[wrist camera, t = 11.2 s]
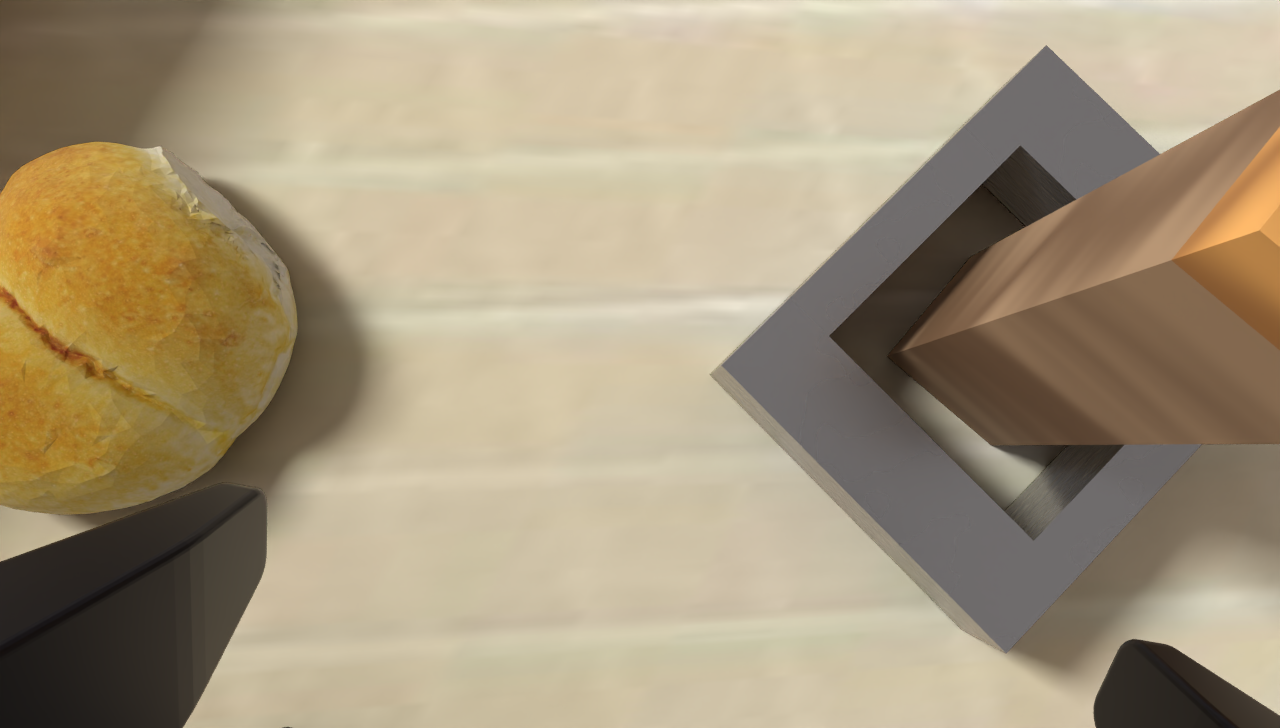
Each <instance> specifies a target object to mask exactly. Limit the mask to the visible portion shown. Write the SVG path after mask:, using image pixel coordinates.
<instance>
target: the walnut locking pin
mask: <svg viewBox="0 0 1280 728" xmlns="http://www.w3.org/2000/svg"><path fill="white" fill-rule="evenodd" d="M887 357H889V358H890V359H891V360H892V361H893V362H894V363H896V364H897V365H898V366H899V367H900V368H901V369H903V370H904V371H905V372H906V373H907V374H908V375H910V376H911V377H912V378H913V379H914V380H915V381H917V382H918V383H919V384H920V385H921V386H922V387H924V388H925V389H926V390H927V391H928V392H929V393H931V394H932V395H933V396H934V397H935V398H936V399H938V400H939V401H940V402H941V403H942V404H944V405H945V406H946V407H947V408H948V409H949V410H951V411H952V412H953V413H954V414H955V415H956V416H958V417H959V418H960V419H961V420H962V421H963V422H965V423H966V424H967V425H968V426H969V427H970V428H972V429H973V430H974V431H975V432H976V433H977V434H979V435H980V436H981V437H982V438H983V439H984V440H986V441H987V442H988V443H989V444H990V445H1151V444H1280V90H1279V91H1277V92H1275V93H1273V94H1271V95H1269V96H1267V97H1266V98H1264V99H1262V100H1260V101H1258V102H1256V103H1254V104H1253V105H1251V106H1249V107H1247V108H1245V109H1243V110H1242V111H1240V112H1238V113H1236V114H1234V115H1232V116H1230V117H1229V118H1227V119H1225V120H1223V121H1221V122H1219V123H1217V124H1216V125H1214V126H1212V127H1210V128H1208V129H1206V130H1204V131H1203V132H1201V133H1199V134H1197V135H1195V136H1193V137H1191V138H1190V139H1188V140H1186V141H1184V142H1182V143H1180V144H1179V145H1177V146H1175V147H1173V148H1171V149H1169V150H1167V151H1166V152H1164V153H1162V154H1160V155H1158V156H1156V157H1154V158H1153V159H1151V160H1149V161H1147V162H1145V163H1143V164H1141V165H1140V166H1138V167H1136V168H1134V169H1132V170H1130V171H1129V172H1127V173H1125V174H1123V175H1121V176H1119V177H1117V178H1116V179H1114V180H1112V181H1110V182H1108V183H1106V184H1104V185H1103V186H1101V187H1099V188H1097V189H1095V190H1093V191H1091V192H1090V193H1088V194H1086V195H1084V196H1082V197H1080V198H1079V199H1077V200H1075V201H1073V202H1071V203H1069V204H1067V205H1066V206H1064V207H1062V208H1060V209H1058V210H1056V211H1054V212H1053V213H1051V214H1049V215H1047V216H1045V217H1043V218H1041V219H1040V220H1038V221H1036V222H1034V223H1032V224H1030V225H1028V226H1027V227H1025V228H1023V229H1021V230H1019V231H1017V232H1016V233H1014V234H1012V235H1010V236H1008V237H1006V238H1004V239H1003V240H1001V241H999V242H997V243H995V244H993V245H991V246H990V247H988V248H986V249H984V250H982V251H980V252H978V253H977V254H975V255H973V256H971V257H970V258H969V260H968V261H967V262H966V263H965V264H964V265H963V267H962V268H961V269H960V270H959V271H958V273H957V274H956V275H955V276H954V277H953V279H952V280H951V281H950V282H949V283H948V284H947V286H946V287H945V288H944V289H943V290H942V292H941V293H940V294H939V295H938V296H937V298H936V299H935V300H934V301H933V302H932V303H931V305H930V306H929V307H928V308H927V309H926V311H925V312H924V313H923V314H922V315H921V317H920V318H919V319H918V320H917V321H916V322H915V324H914V325H913V326H912V327H911V328H910V330H909V331H908V332H907V333H906V334H905V335H904V337H903V338H902V339H901V340H900V341H899V343H898V344H897V345H896V346H895V347H894V349H893V350H892V351H891V352H890V353H889V354H888V356H887Z"/></svg>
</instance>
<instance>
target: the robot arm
mask: <svg viewBox="0 0 1280 728" xmlns="http://www.w3.org/2000/svg"><path fill="white" fill-rule="evenodd" d="M266 554H267V499H266V496H265V493H264V492H263V491H262V490H261V489H260V488H256V487H251V486H245V485H239V484H234V483H228V482H225V483H219V484H216V485H213V486H210V487H208V488H205V489H202V490H199V491H197V492H194V493H191V494H188V495H185V496H183V497H180V498H177V499H174V500H171V501H169V502H166V503H163V504H160V505H157V506H155V507H152V508H149V509H146V510H144V511H141V512H138V513H135V514H132V515H130V516H127V517H124V518H121V519H118V520H116V521H113V522H110V523H107V524H104V525H102V526H99V527H96V528H93V529H91V530H88V531H85V532H82V533H79V534H77V535H74V536H71V537H68V538H65V539H63V540H60V541H57V542H54V543H51V544H49V545H46V546H43V547H40V548H38V549H35V550H32V551H29V552H26V553H24V554H21V555H18V556H15V557H12V558H10V559H7V560H4V561H1V562H0V728H183V726H184V725H185V723H186V722H187V720H188V718H189V717H190V715H191V713H192V712H193V710H194V708H195V707H196V705H197V703H198V701H199V699H200V697H201V696H202V694H203V692H204V690H205V688H206V686H207V684H208V682H209V680H210V678H211V676H212V674H213V672H214V670H215V669H216V667H217V665H218V663H219V661H220V659H221V657H222V655H223V653H224V651H225V649H226V647H227V645H228V643H229V641H230V639H231V637H232V635H233V633H234V631H235V629H236V627H237V625H238V623H239V621H240V619H241V617H242V615H243V613H244V611H245V610H246V608H247V606H248V604H249V602H250V600H251V598H252V596H253V594H254V592H255V590H256V588H257V586H258V584H259V582H260V580H261V577H262V574H263V572H264V568H265V563H266ZM1094 721H1095V726H1096V728H1280V715H1278V714H1276V713H1275V712H1273V711H1272V710H1270V709H1269V708H1267V707H1266V706H1264V705H1262V704H1261V703H1259V702H1258V701H1256V700H1255V699H1253V698H1252V697H1250V696H1248V695H1247V694H1245V693H1244V692H1242V691H1241V690H1239V689H1238V688H1236V687H1234V686H1233V685H1231V684H1230V683H1228V682H1227V681H1225V680H1224V679H1222V678H1220V677H1219V676H1217V675H1216V674H1214V673H1213V672H1211V671H1210V670H1208V669H1206V668H1205V667H1203V666H1202V665H1200V664H1199V663H1197V662H1196V661H1194V660H1192V659H1191V658H1189V657H1188V656H1186V655H1185V654H1183V653H1182V652H1180V651H1179V650H1177V649H1175V648H1173V647H1172V646H1169V645H1166V644H1161V643H1155V642H1149V641H1143V640H1137V639H1132V640H1129V641H1126V642H1125V643H1124V644H1122V645H1121V646H1120V648H1119V650H1118V652H1117V654H1116V656H1115V658H1114V660H1113V662H1112V664H1111V666H1110V668H1109V670H1108V673H1107V675H1106V677H1105V679H1104V681H1103V683H1102V685H1101V687H1100V689H1099V692H1098V694H1097V696H1096V699H1095V703H1094ZM283 728H291V727H283Z"/></svg>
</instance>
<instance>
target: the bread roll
mask: <svg viewBox="0 0 1280 728" xmlns="http://www.w3.org/2000/svg"><path fill="white" fill-rule="evenodd" d="M213 188H214V187H213ZM213 188H212V187H210V186H209V185H208V184H207V183H205V182H204V181H203V179H202V177H201V176H200V175H199V174H198V173H197V171H195V170H193V169H192V168H190V167H189V166H187V165H186V164H184V163H183V162H182V161H180V160H179V159H178V158H177V157H176V156H175V155H174V154H173V153H171V152H170V151H168V150H166V149H164V148H163V147H161V146H158V147H154V148H146V149H142V148H137V147H132V146H127V145H123V144H119V143H110V142H89V143H83V144H76V145H71V146H67V147H63V148H59V149H57V150H54V151H52V152H49V153H47V154H45V155H43V156H41V157H39V158H36V159H34V160H32V161H31V162H29V163H27V164H25V165H23V166H22V167H21V168H19V169H18V170H17V171H16V172H15V173H14V174H12V176H11V177H10V179H9V180H8V182H7V184H6V186H5V188H4V189H3V191H2V192H1V194H0V505H3V506H6V507H10V508H13V509H19V510H26V511H31V512H40V513H50V514H58V515H63V514H90V513H96V512H105V511H109V510H116V509H122V508H128V507H131V506H135V505H139V504H142V503H145V502H147V501H148V502H151V501H152V500H154V499H156V498H158V497H160V496H163V495H165V494H168V493H170V492H173V491H175V490H178V489H181V488H183V487H185V486H186V485H187V483H191V482H193V481H194V480H195V479H197V478H198V477H200V476H202V475H203V474H205V473H206V472H208V471H209V470H210V469H211V468H212V467H214V466H215V465H216V464H217V462H218V461H219V460H220V459H221V458H222V457H223V456H224V455H225V453H226V451H227V450H228V449H229V447H230V446H231V445H232V444H233V442H234V440H235V439H236V438H237V437H238V436H239V435H240V434H241V433H243V432H244V431H245V430H246V429H247V428H248V427H249V426H250V425H251V424H252V423H254V422H255V421H256V420H257V418H258V417H259V416H260V415H261V414H262V413H263V411H264V410H265V409H266V407H267V406H268V405H269V403H270V401H271V400H272V398H273V397H274V395H275V393H276V391H277V389H278V387H279V386H280V384H281V381H282V379H283V377H284V374H285V372H286V370H287V367H288V365H289V362H290V358H291V354H292V351H293V347H294V343H295V340H296V336H297V330H298V324H297V310H296V304H295V299H294V295H293V290H292V288H291V282H290V275H289V270H288V269H287V267H286V266H285V264H284V263H283V262H282V261H281V259H280V258H279V257H278V255H277V253H275V251H274V250H273V249H272V248H271V247H270V245H269V244H268V243H267V242H266V241H265V239H264V238H263V237H262V236H261V234H260V233H259V232H258V231H257V229H256V228H255V227H254V226H253V225H252V224H251V223H250V222H249V221H248V220H247V219H246V218H245V217H244V216H242V215H241V214H240V213H238V212H237V211H236V210H235V208H234V207H233V206H232V205H231V204H230V202H229V201H228V199H225V198H224V196H223V195H222V194H220V193H219V192H218V191H217V190H214V189H213Z"/></svg>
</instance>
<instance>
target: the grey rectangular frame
mask: <svg viewBox="0 0 1280 728" xmlns="http://www.w3.org/2000/svg"><path fill="white" fill-rule="evenodd" d="M1158 155H1160V154H1159V153H1158V152H1157V151H1156V150H1155V149H1154V148H1153V147H1152V146H1151V145H1150V144H1149V143H1148V142H1147V141H1146V140H1145V139H1144V138H1143V137H1142V136H1140V135H1139V134H1138V133H1137V132H1136V131H1135V130H1134V129H1133V128H1132V127H1131V126H1130V125H1129V124H1128V123H1127V122H1126V121H1125V120H1124V119H1123V118H1122V117H1121V116H1120V115H1119V114H1118V113H1116V112H1115V111H1114V110H1113V109H1112V108H1111V107H1110V106H1109V105H1108V104H1107V103H1106V102H1105V101H1104V100H1103V99H1102V98H1101V97H1100V96H1099V95H1098V94H1097V93H1096V92H1095V91H1094V90H1092V89H1091V88H1090V87H1089V86H1088V85H1087V84H1086V83H1085V82H1084V81H1083V80H1082V79H1081V78H1080V77H1079V76H1078V75H1077V74H1076V73H1075V72H1074V71H1073V70H1072V69H1071V68H1069V67H1068V66H1067V65H1066V64H1065V63H1064V62H1063V61H1062V60H1061V59H1060V58H1059V57H1058V56H1057V55H1056V54H1055V53H1054V52H1053V51H1052V50H1051V49H1050V48H1049V47H1048V46H1047V45H1046V46H1045V47H1044V48H1043V49H1042V50H1041V51H1040V52H1039V53H1038V54H1037V55H1036V56H1034V57H1033V58H1032V59H1031V60H1030V61H1029V62H1028V63H1027V64H1026V65H1025V66H1024V67H1023V68H1022V69H1021V70H1020V71H1018V72H1017V73H1016V74H1015V75H1014V76H1013V77H1012V78H1011V79H1010V80H1009V81H1008V82H1007V83H1006V84H1005V85H1004V86H1003V87H1001V88H1000V89H999V90H998V91H997V92H996V93H995V94H994V95H993V96H992V97H991V98H990V99H989V100H988V101H987V102H986V103H985V104H984V105H983V106H982V107H981V108H980V109H979V110H978V111H977V112H976V113H975V114H974V115H973V116H972V117H971V118H970V119H969V120H968V121H967V122H966V123H965V124H964V125H963V126H962V127H961V128H960V129H959V130H958V131H957V132H956V133H955V134H954V135H953V136H952V137H951V138H950V139H949V140H948V141H947V142H946V143H944V144H943V145H942V146H941V147H940V148H939V149H938V150H937V151H936V152H935V153H934V154H933V155H932V156H931V157H930V158H929V159H928V160H927V161H926V162H925V163H924V164H923V165H922V166H921V167H920V168H919V169H918V170H917V171H916V172H915V173H914V174H913V175H912V176H911V177H910V178H909V179H908V180H907V181H906V182H905V183H904V184H903V185H902V186H901V187H900V188H899V189H898V190H897V191H896V192H895V193H894V194H893V195H892V196H891V197H890V198H889V199H888V200H887V201H886V202H885V203H884V204H883V205H882V206H881V207H879V208H878V209H877V210H876V211H875V212H874V213H873V214H872V215H871V216H870V217H869V218H868V219H867V220H866V221H865V222H864V223H863V224H862V225H861V226H860V227H859V228H858V229H857V230H856V231H855V232H854V233H853V234H852V235H851V236H850V237H849V238H848V239H847V240H846V241H845V242H844V243H843V244H842V245H841V246H840V247H839V248H838V249H837V250H836V251H835V252H834V253H833V254H832V255H831V256H830V257H829V258H828V259H827V260H826V261H825V262H824V263H823V264H822V265H821V266H820V267H819V268H818V269H817V270H815V271H814V272H813V273H812V274H811V275H810V276H809V277H808V278H807V279H806V280H805V281H804V282H803V283H802V284H801V285H800V286H799V287H798V288H797V289H796V290H795V291H794V292H793V293H792V294H791V295H790V296H789V297H788V298H787V299H786V300H785V301H784V302H783V303H782V304H781V305H780V306H779V307H778V308H777V309H776V310H775V311H774V312H773V313H772V314H771V315H770V316H769V317H768V318H767V319H766V320H765V321H764V322H763V323H762V324H761V325H760V326H759V327H758V328H757V329H756V330H755V331H754V332H753V333H751V334H750V335H749V336H748V337H747V338H746V339H745V340H744V341H743V342H742V343H741V344H740V345H739V346H738V347H737V348H736V349H735V350H734V351H733V352H732V353H731V354H730V355H729V356H728V357H727V358H726V359H725V360H724V361H723V362H722V363H721V364H720V365H719V366H718V367H717V368H716V369H715V370H714V371H713V372H712V373H711V374H710V375H711V376H712V377H713V378H714V379H715V380H716V381H717V382H718V383H719V384H720V385H721V387H722V388H723V389H724V390H725V391H726V392H727V393H728V394H729V395H730V396H731V397H732V398H733V399H734V400H735V401H736V402H737V403H738V404H739V405H740V406H741V407H742V408H743V409H744V410H745V411H746V412H747V413H748V414H749V415H750V416H751V417H752V418H753V419H754V420H755V421H756V422H757V423H758V424H759V425H760V426H761V427H762V428H763V429H764V430H765V431H766V432H767V433H768V434H769V435H770V436H771V437H772V438H773V439H774V440H775V441H776V442H777V443H778V444H779V445H780V446H781V447H782V448H783V449H784V450H785V451H786V452H787V453H788V454H789V455H790V456H791V457H792V458H793V459H794V460H795V461H796V462H797V464H798V465H799V466H800V467H801V468H802V469H803V470H804V471H805V472H806V473H807V474H808V475H809V476H810V477H811V478H812V479H813V480H814V481H815V482H816V483H817V484H818V485H819V486H820V487H821V488H822V489H823V490H824V491H825V492H826V493H827V494H828V495H829V496H830V497H831V498H832V499H833V500H834V501H835V502H836V503H837V504H838V505H839V506H840V507H841V508H842V509H843V510H844V511H845V512H846V513H847V514H848V515H849V516H850V517H851V518H852V519H853V520H854V521H855V522H856V523H857V524H858V525H859V526H860V527H861V528H862V529H863V530H864V531H865V532H866V533H867V534H868V535H869V536H870V537H871V538H872V539H873V541H874V542H875V543H876V544H877V545H878V546H879V547H880V548H881V549H882V550H883V551H884V552H885V553H886V554H887V555H888V556H889V557H890V558H891V559H892V560H893V561H894V562H895V563H896V564H897V565H898V566H899V567H900V568H901V569H902V570H903V571H904V572H905V573H906V574H907V575H908V576H909V577H910V578H911V579H912V580H913V581H914V582H915V583H916V584H917V585H918V586H919V587H920V588H921V589H922V590H923V591H924V592H925V593H926V594H927V595H928V596H929V597H930V598H931V599H932V600H933V601H934V602H935V603H936V604H937V605H938V606H939V607H940V608H941V609H942V610H943V611H944V612H945V613H946V614H947V615H948V616H949V618H950V619H951V620H952V621H953V622H954V623H955V624H956V625H957V626H958V627H959V628H960V629H961V630H963V631H965V632H967V633H969V634H971V635H972V636H974V637H976V638H978V639H980V640H982V641H984V642H986V643H987V644H989V645H991V646H993V647H995V648H997V649H999V650H1001V651H1003V652H1004V653H1007V652H1008V651H1009V650H1010V649H1011V648H1012V647H1013V646H1014V645H1015V643H1016V642H1017V641H1018V640H1019V639H1020V638H1021V637H1022V636H1023V635H1024V634H1025V633H1026V632H1027V631H1028V630H1029V629H1030V627H1031V626H1032V625H1033V624H1034V623H1035V622H1036V621H1037V620H1038V619H1039V618H1040V617H1041V616H1042V615H1043V614H1044V613H1045V611H1046V610H1047V609H1048V608H1049V607H1050V606H1051V605H1052V604H1053V603H1054V602H1055V601H1056V600H1057V599H1058V598H1059V597H1060V595H1061V594H1062V593H1063V592H1064V591H1065V590H1066V589H1067V588H1068V587H1069V586H1070V585H1071V584H1072V583H1073V582H1074V580H1075V579H1076V578H1077V577H1078V576H1079V575H1080V574H1081V573H1082V572H1083V571H1084V570H1085V569H1086V568H1087V567H1088V566H1089V564H1090V563H1091V562H1092V561H1093V560H1094V559H1095V558H1096V557H1097V556H1098V555H1099V554H1100V553H1101V552H1102V551H1103V550H1104V548H1105V547H1106V546H1107V545H1108V544H1109V543H1110V542H1111V541H1112V540H1113V539H1114V538H1115V537H1116V536H1117V535H1118V533H1119V532H1120V531H1121V530H1122V529H1123V528H1124V527H1125V526H1126V525H1127V524H1128V523H1129V522H1130V521H1131V520H1132V519H1133V517H1134V516H1135V515H1136V514H1137V513H1138V512H1139V511H1140V510H1141V509H1142V508H1143V507H1144V506H1145V505H1146V504H1147V503H1148V501H1149V500H1150V499H1151V498H1152V497H1153V496H1154V495H1155V494H1156V493H1157V492H1158V491H1159V490H1160V489H1161V488H1162V486H1163V485H1164V484H1165V483H1166V482H1167V481H1168V480H1169V479H1170V478H1171V477H1172V476H1173V475H1174V474H1175V473H1176V472H1177V470H1178V469H1179V468H1180V467H1181V466H1182V465H1183V464H1184V463H1185V462H1186V461H1187V460H1188V459H1189V458H1190V457H1191V456H1192V454H1193V453H1194V452H1195V451H1196V450H1197V449H1198V448H1199V447H1200V446H1201V445H1202V444H1151V445H1068V446H1067V447H1066V448H1065V449H1064V450H1063V451H1062V452H1061V453H1060V454H1059V455H1058V456H1057V457H1056V458H1055V459H1054V460H1053V461H1052V462H1051V463H1050V464H1049V465H1048V466H1047V468H1046V469H1045V470H1044V471H1043V472H1042V473H1041V474H1040V475H1039V476H1038V477H1037V478H1036V479H1035V480H1034V481H1033V482H1032V483H1031V484H1030V485H1029V486H1028V487H1027V488H1026V489H1025V491H1024V492H1023V493H1022V494H1021V495H1020V496H1019V497H1018V498H1017V499H1016V500H1015V501H1014V502H1013V503H1012V504H1011V505H1010V506H1009V507H1008V508H1007V509H1006V510H1005V511H1003V510H1002V509H1001V508H1000V507H999V506H998V505H997V504H996V503H995V502H994V501H993V500H992V499H991V498H990V497H989V496H988V495H987V494H986V493H985V492H984V491H983V490H982V489H981V488H980V487H979V486H978V485H977V484H976V483H975V482H974V481H973V480H972V479H971V478H970V477H969V476H968V475H967V474H966V473H965V472H964V471H963V470H962V469H961V468H960V467H959V466H958V465H957V464H956V463H955V462H954V461H953V460H952V459H951V458H950V457H949V456H948V455H947V454H946V453H945V452H944V451H943V450H942V449H941V448H940V447H939V446H938V445H937V444H936V443H935V442H934V441H933V440H932V439H931V438H930V437H929V436H928V435H927V434H926V433H925V432H924V431H923V430H922V429H921V428H920V427H919V426H918V425H917V424H916V423H915V422H914V421H913V420H912V419H911V418H910V417H909V416H908V415H907V414H906V413H905V412H904V411H903V410H902V409H901V408H900V407H899V406H898V405H897V404H896V403H895V402H894V401H893V400H892V399H891V398H890V397H889V396H888V395H887V394H886V393H885V392H884V391H883V390H882V389H881V388H880V387H879V386H878V385H877V384H876V383H875V382H874V381H873V380H872V379H871V378H870V377H869V376H868V375H867V374H866V373H865V372H864V371H863V370H862V369H861V368H860V367H859V366H858V365H857V364H856V363H855V362H854V361H853V360H852V359H851V358H850V357H849V356H848V355H847V354H846V353H845V352H844V351H843V350H842V349H841V348H840V347H839V346H838V345H837V344H836V343H835V342H834V341H833V340H832V339H831V338H830V337H829V335H830V334H831V333H833V332H834V331H835V330H836V329H837V328H838V327H839V326H840V325H841V324H842V323H843V322H844V321H845V320H846V319H847V318H848V317H849V316H850V315H851V314H852V313H853V312H854V311H855V310H856V309H857V308H858V307H859V306H860V305H861V304H862V303H863V302H864V301H865V300H866V299H867V298H868V297H869V296H870V295H871V294H872V293H873V292H874V291H875V290H876V289H877V288H878V287H879V286H880V285H881V284H882V283H883V282H884V281H885V280H886V279H887V278H888V277H889V276H890V275H891V274H892V273H893V272H894V271H895V270H896V269H897V268H898V267H899V266H900V265H901V264H902V263H903V262H904V261H905V260H906V259H907V258H908V257H909V256H910V255H911V254H912V253H913V252H914V251H915V250H916V249H917V248H918V247H919V246H920V245H921V244H922V243H923V242H924V241H925V240H926V239H927V238H928V237H929V236H930V235H931V234H932V233H933V232H934V231H935V230H936V229H937V228H938V227H939V226H940V225H941V224H942V223H943V222H944V221H945V220H946V219H947V218H948V217H949V216H950V215H951V214H952V213H953V212H954V211H955V210H956V209H957V208H958V207H959V206H960V205H961V204H962V203H963V202H964V201H965V200H966V199H967V198H968V197H969V196H970V195H971V194H972V193H973V192H974V191H975V190H976V189H977V188H978V187H979V186H980V185H981V184H983V185H984V186H985V187H986V188H987V189H988V190H989V191H990V192H991V193H992V194H993V195H994V196H995V197H996V198H997V199H998V200H999V201H1000V202H1001V203H1002V204H1003V205H1004V206H1006V207H1007V208H1008V209H1009V210H1010V211H1011V212H1012V213H1013V214H1014V215H1015V216H1016V217H1017V218H1018V219H1019V220H1020V221H1021V222H1022V223H1023V224H1024V225H1025V226H1026V227H1027V226H1028V225H1030V224H1032V223H1034V222H1036V221H1038V220H1040V219H1041V218H1043V217H1045V216H1047V215H1049V214H1051V213H1053V212H1054V211H1056V210H1058V209H1060V208H1062V207H1064V206H1066V205H1067V204H1069V203H1071V202H1073V201H1075V200H1077V199H1079V198H1080V197H1082V196H1084V195H1086V194H1088V193H1090V192H1091V191H1093V190H1095V189H1097V188H1099V187H1101V186H1103V185H1104V184H1106V183H1108V182H1110V181H1112V180H1114V179H1116V178H1117V177H1119V176H1121V175H1123V174H1125V173H1127V172H1129V171H1130V170H1132V169H1134V168H1136V167H1138V166H1140V165H1141V164H1143V163H1145V162H1147V161H1149V160H1151V159H1153V158H1154V157H1156V156H1158Z"/></svg>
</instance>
